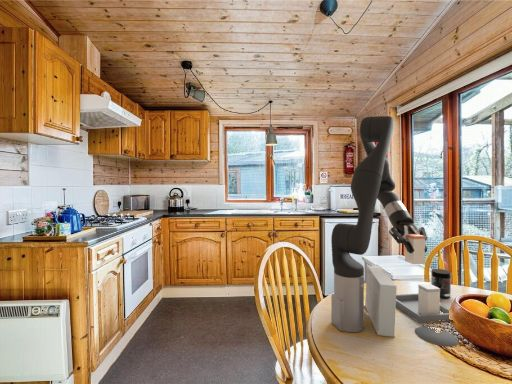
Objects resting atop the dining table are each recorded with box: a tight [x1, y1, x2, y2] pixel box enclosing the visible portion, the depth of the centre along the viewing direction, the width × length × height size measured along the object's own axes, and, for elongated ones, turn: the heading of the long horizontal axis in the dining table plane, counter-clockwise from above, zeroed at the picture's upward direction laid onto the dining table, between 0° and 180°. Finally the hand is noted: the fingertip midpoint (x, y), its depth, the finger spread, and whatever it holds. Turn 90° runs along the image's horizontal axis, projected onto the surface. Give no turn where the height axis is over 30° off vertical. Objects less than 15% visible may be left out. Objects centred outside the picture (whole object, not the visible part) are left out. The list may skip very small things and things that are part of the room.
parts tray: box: [396, 293, 451, 324], centre depth 102 cm, size 18×14×2 cm
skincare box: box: [364, 265, 398, 338], centre depth 95 cm, size 21×6×16 cm, turn 168°
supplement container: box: [430, 268, 452, 300], centre depth 114 cm, size 7×7×10 cm
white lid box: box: [417, 283, 441, 315], centre depth 97 cm, size 5×5×10 cm
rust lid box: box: [404, 234, 426, 265], centre depth 102 cm, size 5×5×10 cm
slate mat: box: [414, 325, 459, 348], centre depth 84 cm, size 11×11×1 cm
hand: (418, 251), depth 100 cm, fingers closed on rust lid box, 4 cm apart
